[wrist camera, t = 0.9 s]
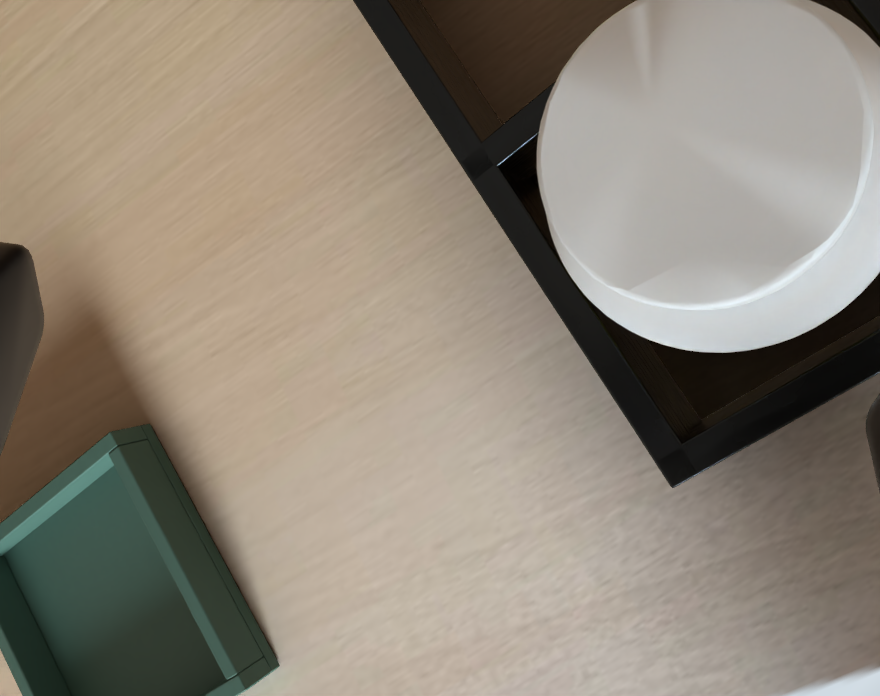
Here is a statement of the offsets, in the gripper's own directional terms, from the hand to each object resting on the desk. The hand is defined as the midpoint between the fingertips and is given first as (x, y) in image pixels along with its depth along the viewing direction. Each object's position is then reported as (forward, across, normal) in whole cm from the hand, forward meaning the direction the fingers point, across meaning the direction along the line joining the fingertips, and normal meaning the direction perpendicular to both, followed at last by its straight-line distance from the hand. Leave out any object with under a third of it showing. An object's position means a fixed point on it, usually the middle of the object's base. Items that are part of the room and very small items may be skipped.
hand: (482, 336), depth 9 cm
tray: (+12, +9, +25) cm, 29 cm away
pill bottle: (+13, -9, +5) cm, 17 cm away
